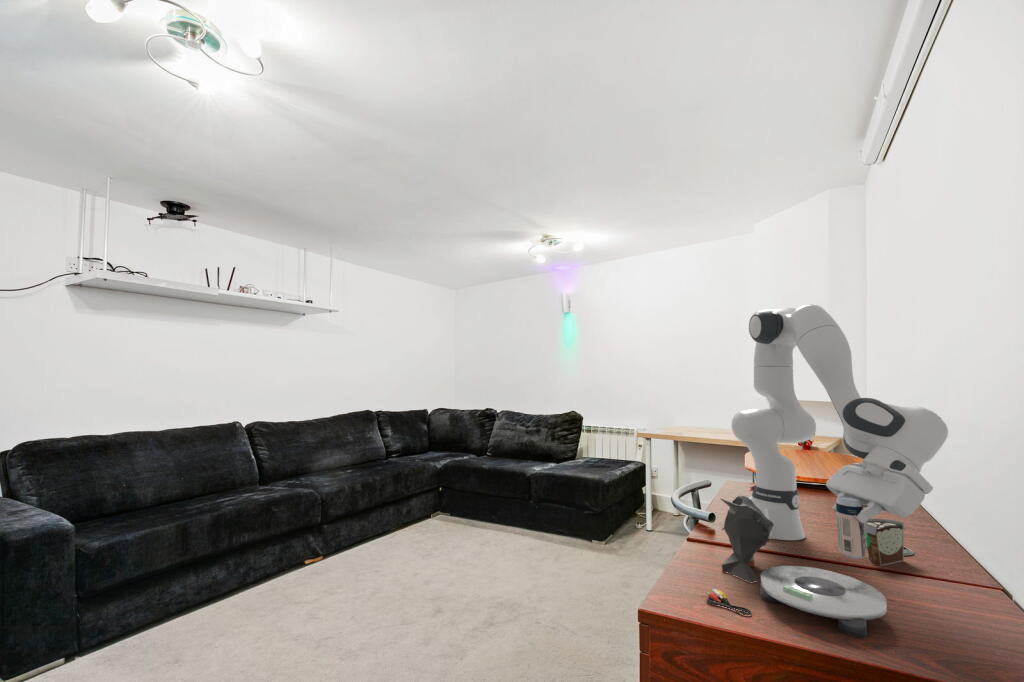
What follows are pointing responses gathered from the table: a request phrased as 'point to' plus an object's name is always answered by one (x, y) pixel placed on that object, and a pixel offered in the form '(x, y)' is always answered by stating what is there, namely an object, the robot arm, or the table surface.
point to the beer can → (850, 528)
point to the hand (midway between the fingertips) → (847, 516)
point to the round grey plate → (824, 595)
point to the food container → (884, 541)
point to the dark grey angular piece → (745, 536)
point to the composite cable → (723, 601)
